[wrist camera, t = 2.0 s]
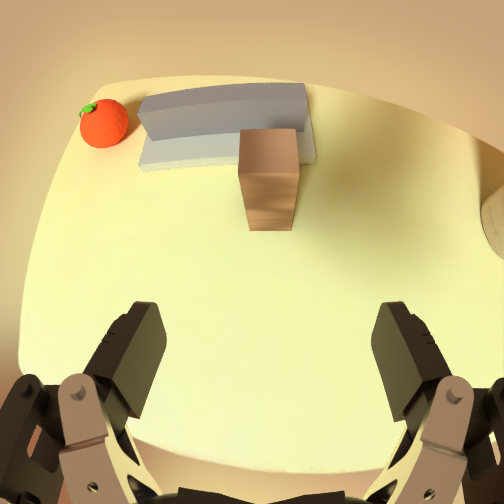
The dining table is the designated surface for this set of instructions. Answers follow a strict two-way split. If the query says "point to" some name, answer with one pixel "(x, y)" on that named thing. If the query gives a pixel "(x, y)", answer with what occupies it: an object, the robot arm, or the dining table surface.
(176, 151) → the ridge stand
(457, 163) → the dining table surface
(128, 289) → the dining table surface
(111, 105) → the clementine
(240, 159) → the walnut post
